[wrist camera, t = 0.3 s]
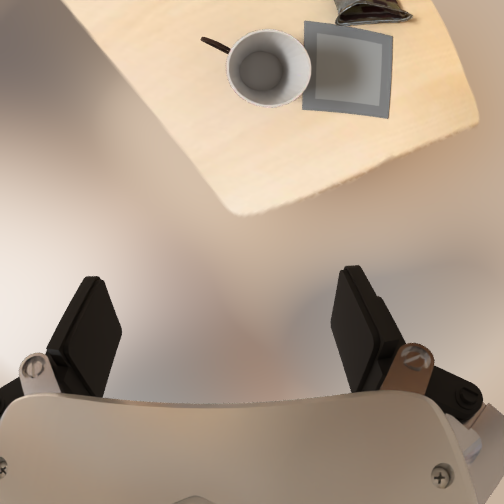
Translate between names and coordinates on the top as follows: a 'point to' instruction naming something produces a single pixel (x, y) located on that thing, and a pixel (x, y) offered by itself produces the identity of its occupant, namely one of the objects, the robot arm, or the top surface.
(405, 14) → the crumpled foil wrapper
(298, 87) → the coffee mug
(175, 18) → the top surface
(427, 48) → the top surface
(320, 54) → the mat
